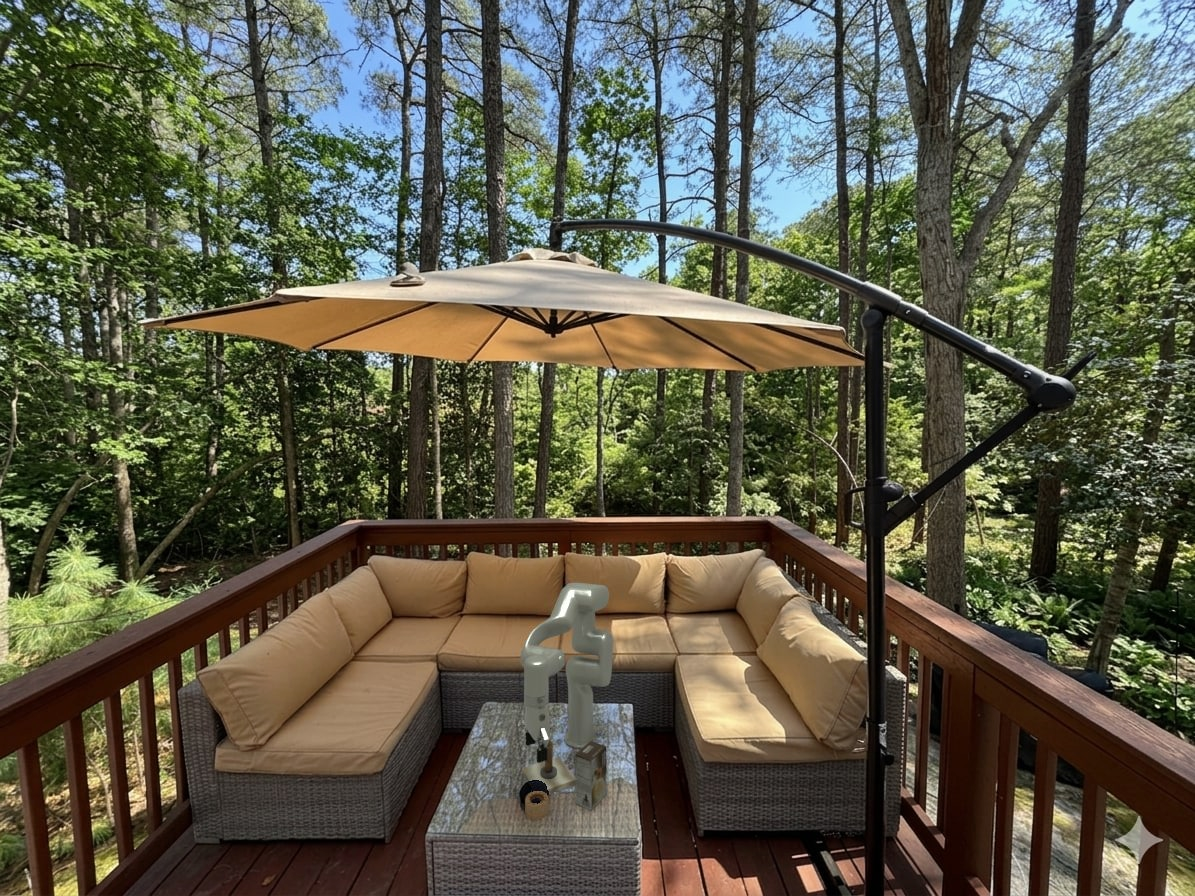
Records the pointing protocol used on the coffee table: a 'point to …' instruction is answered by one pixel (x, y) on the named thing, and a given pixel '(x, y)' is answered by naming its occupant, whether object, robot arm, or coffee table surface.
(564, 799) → the coffee table surface
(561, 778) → the post board
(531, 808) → the beige thick ring
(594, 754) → the coffee box
